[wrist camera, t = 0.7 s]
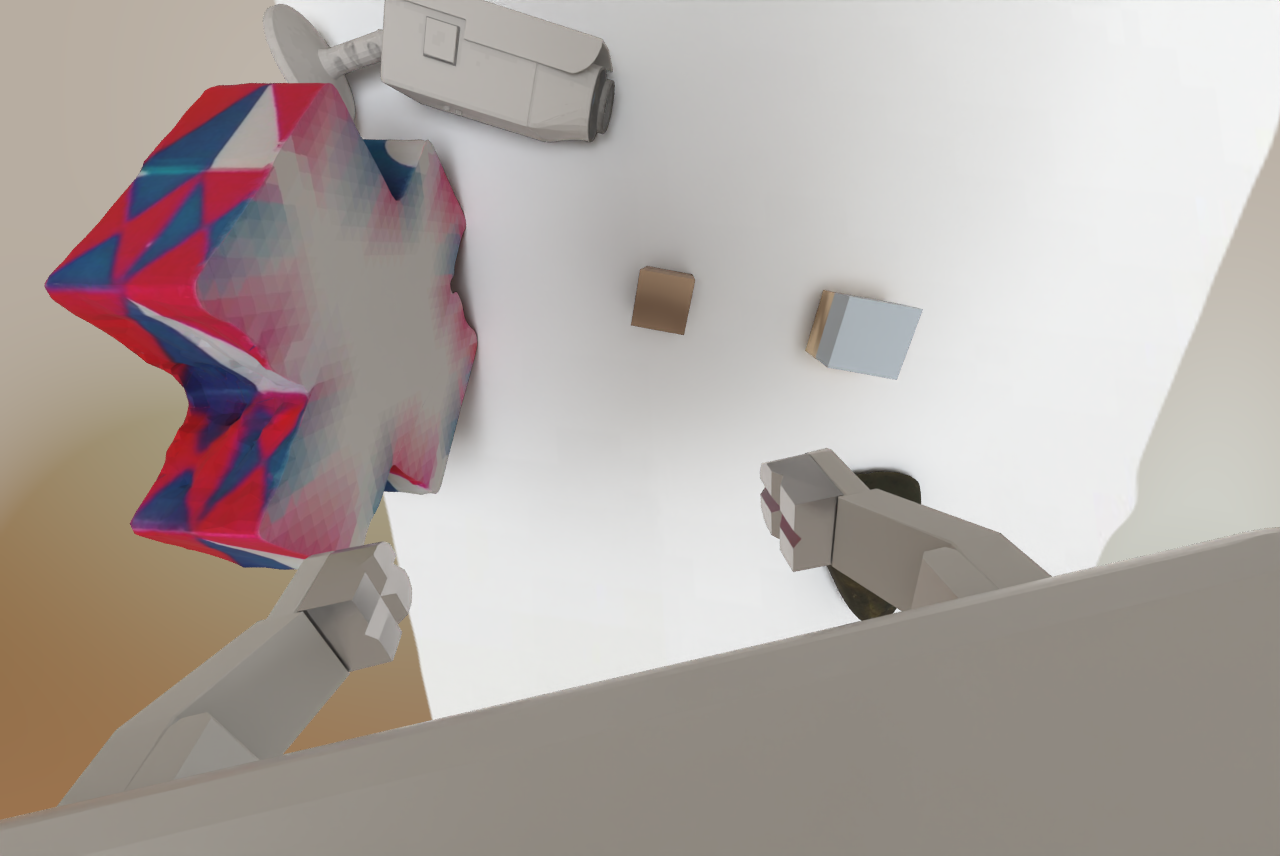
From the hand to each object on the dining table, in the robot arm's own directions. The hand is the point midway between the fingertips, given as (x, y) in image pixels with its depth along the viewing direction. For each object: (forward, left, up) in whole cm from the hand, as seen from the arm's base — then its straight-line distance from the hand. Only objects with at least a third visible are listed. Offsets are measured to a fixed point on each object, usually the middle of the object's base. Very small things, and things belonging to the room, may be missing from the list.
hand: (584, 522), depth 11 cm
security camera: (-16, -19, -41) cm, 48 cm away
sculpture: (+4, -22, -41) cm, 47 cm away
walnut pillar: (-2, 0, -40) cm, 40 cm away
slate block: (-2, +18, -36) cm, 41 cm away
